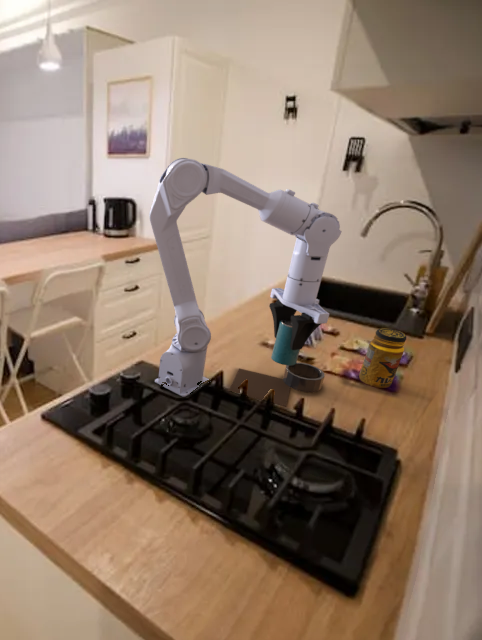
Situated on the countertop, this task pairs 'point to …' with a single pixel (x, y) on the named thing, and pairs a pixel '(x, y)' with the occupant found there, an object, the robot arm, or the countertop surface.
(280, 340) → the can
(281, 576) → the countertop surface
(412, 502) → the countertop surface
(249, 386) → the coaster
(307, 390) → the ring
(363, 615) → the countertop surface
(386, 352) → the condiment
